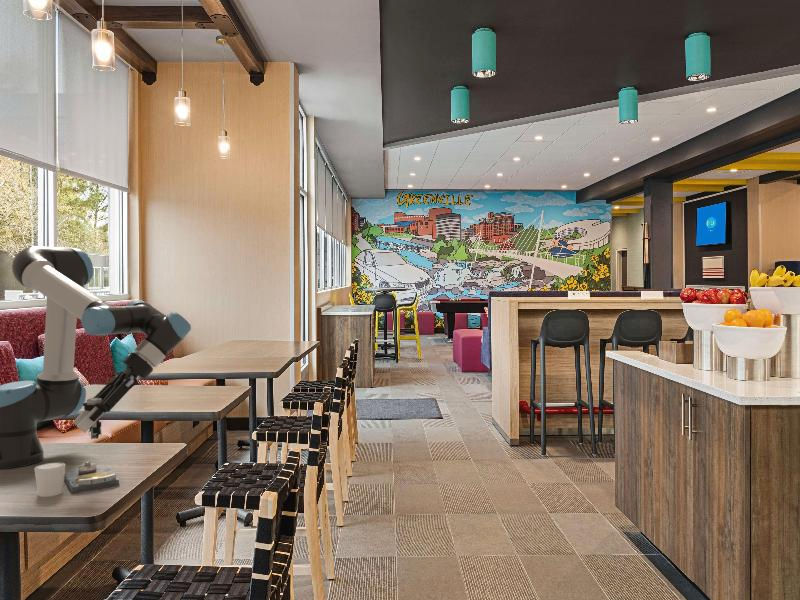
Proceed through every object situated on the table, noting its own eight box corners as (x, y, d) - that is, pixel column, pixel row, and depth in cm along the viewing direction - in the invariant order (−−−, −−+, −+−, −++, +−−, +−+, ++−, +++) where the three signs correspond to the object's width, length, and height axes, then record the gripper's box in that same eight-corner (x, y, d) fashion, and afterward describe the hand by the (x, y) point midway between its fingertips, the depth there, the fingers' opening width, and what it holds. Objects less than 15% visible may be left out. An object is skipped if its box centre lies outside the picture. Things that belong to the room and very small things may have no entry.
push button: (105, 439, 166) (104, 402, 165) (82, 441, 164) (81, 403, 163) (106, 432, 172) (105, 396, 172) (84, 434, 170) (83, 397, 170)
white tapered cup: (58, 487, 166) (58, 460, 166) (70, 492, 162) (70, 465, 162) (30, 493, 161) (29, 466, 161) (41, 499, 157) (41, 471, 156)
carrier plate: (63, 478, 173) (63, 463, 173) (107, 471, 180) (107, 457, 180) (72, 493, 161) (72, 477, 161) (119, 485, 167) (118, 469, 167)
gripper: (162, 372, 169) (96, 443, 160) (145, 365, 184) (84, 430, 175) (141, 353, 166) (72, 424, 157) (125, 348, 181) (62, 413, 172)
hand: (78, 427), depth 166 cm, fingers closed on push button, 5 cm apart
